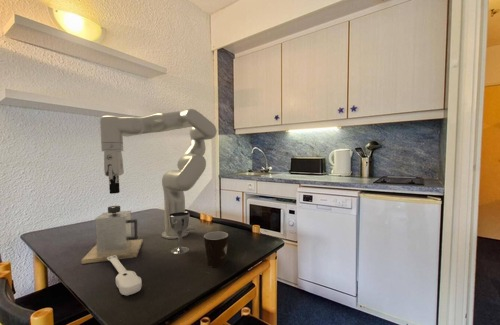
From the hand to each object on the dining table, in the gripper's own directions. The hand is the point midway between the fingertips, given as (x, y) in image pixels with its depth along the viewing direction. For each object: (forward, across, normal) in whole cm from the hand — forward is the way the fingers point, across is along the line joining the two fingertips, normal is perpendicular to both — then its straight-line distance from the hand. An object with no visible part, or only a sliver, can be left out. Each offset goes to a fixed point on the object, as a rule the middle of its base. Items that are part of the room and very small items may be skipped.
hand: (114, 193), depth 94 cm
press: (+24, 0, +1) cm, 24 cm away
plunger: (+22, 0, +1) cm, 22 cm away
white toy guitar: (+24, -24, -6) cm, 34 cm away
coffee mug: (+24, -24, -35) cm, 49 cm away
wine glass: (+24, -7, -24) cm, 35 cm away
